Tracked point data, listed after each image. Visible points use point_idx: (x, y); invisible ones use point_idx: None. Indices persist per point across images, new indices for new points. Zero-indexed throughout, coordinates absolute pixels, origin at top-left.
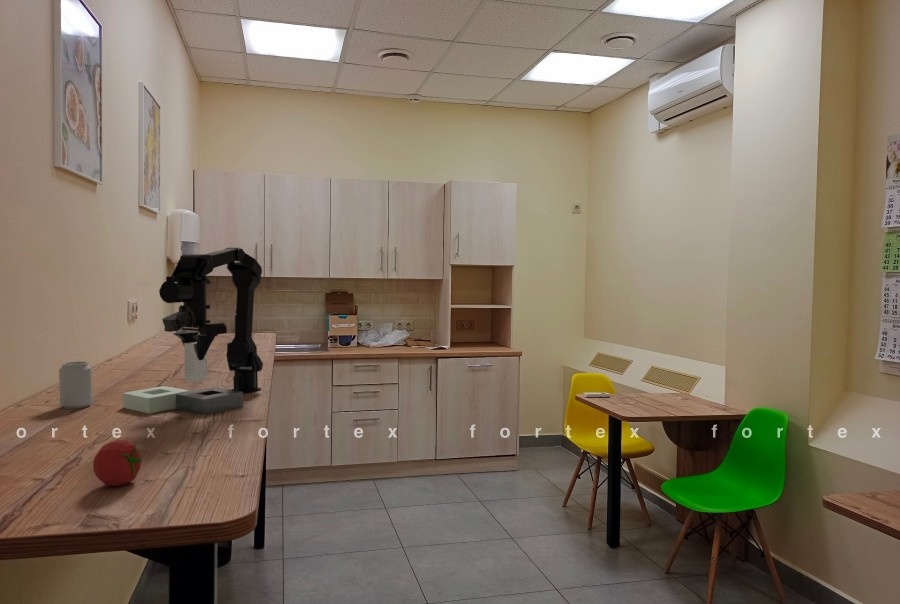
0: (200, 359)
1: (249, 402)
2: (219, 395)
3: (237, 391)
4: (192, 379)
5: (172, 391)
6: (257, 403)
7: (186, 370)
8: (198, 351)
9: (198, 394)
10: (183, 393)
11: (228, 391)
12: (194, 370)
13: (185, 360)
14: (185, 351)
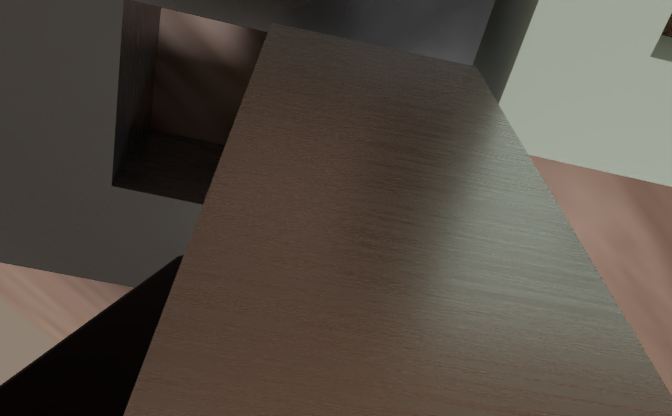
0: (174, 269)
1: (112, 302)
2: (21, 52)
3: (39, 254)
4: (314, 39)
5: (644, 46)
6: (37, 296)
7: (466, 112)
8: (112, 360)
9: (264, 17)
10: (458, 3)
11: (113, 231)
12: (253, 77)
13: (530, 198)
14: (599, 338)
